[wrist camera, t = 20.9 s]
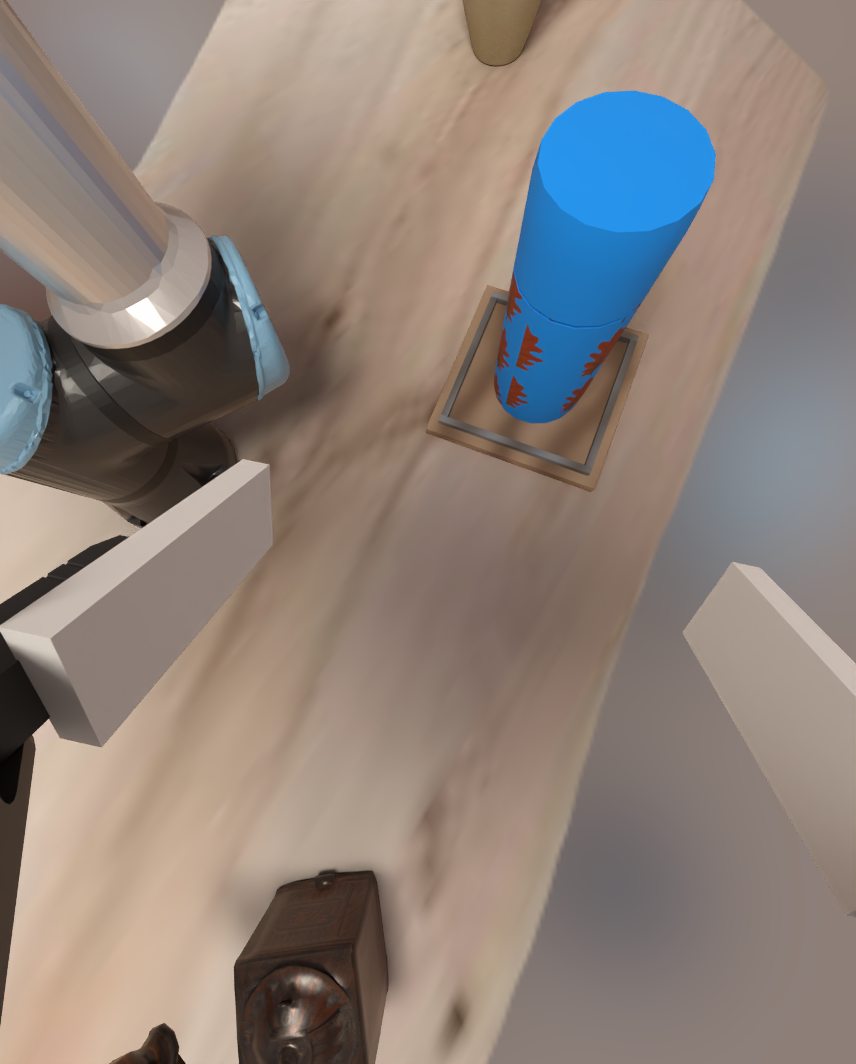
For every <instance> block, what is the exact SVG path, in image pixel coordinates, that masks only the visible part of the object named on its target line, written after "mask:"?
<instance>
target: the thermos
mask: <svg viewBox="0 0 856 1064" xmlns="http://www.w3.org/2000/svg"><path fill="white" fill-rule="evenodd" d="M715 156H716V154H715V151H714V149H713V146H712V143H711V141H710V138H709V135H708V133H707V130H706V129H705V128H704V127H703V126H702V125H701V124H700V123H699V122H698V120H697V119H696V118H695V117H694V116H693V115H692V114H691V113H690V112H689V111H688V110H686V109H685V108H683V107H681V106H679V105H677V104H675V103H673V102H672V101H670V100H668V99H666V98H664V97H662V96H657V95H652V94H647V93H642V92H638V91H621V92H605V93H601V94H598V95H596V96H593V97H590V98H587V99H584V100H582V101H579V102H576V103H575V104H574V105H572V106H571V107H570V108H568V109H567V110H566V111H564V112H563V113H562V114H560V115H559V116H558V117H557V118H555V120H554V121H553V123H552V124H551V126H550V127H549V129H548V131H547V132H546V134H545V135H544V137H543V138H542V140H541V143H540V147H539V150H538V153H537V156H536V160H535V163H534V166H533V169H532V175H531V180H530V185H529V190H528V196H527V201H526V206H525V212H524V217H523V222H522V227H521V233H520V238H519V243H518V249H517V254H516V259H515V264H514V270H513V275H512V280H511V285H510V291H509V296H508V301H507V307H506V312H505V317H504V322H503V328H502V333H501V338H500V344H499V349H498V354H497V360H496V366H495V377H494V388H495V393H496V397H497V399H498V401H499V402H500V404H501V405H502V407H503V408H504V410H505V411H506V412H508V413H509V414H511V415H512V416H513V417H515V418H516V419H518V420H522V421H525V422H528V423H548V422H551V421H554V420H557V419H559V418H561V417H563V416H564V415H565V414H566V413H567V412H569V411H570V410H571V409H572V408H573V407H574V405H575V404H576V403H577V402H578V400H579V399H580V398H581V396H582V395H583V394H584V392H585V391H586V389H587V388H588V386H589V385H590V383H591V381H592V380H593V378H594V377H595V375H596V374H597V372H598V370H599V369H600V367H601V366H602V364H603V363H604V361H605V359H606V358H607V356H608V355H609V353H610V352H611V350H612V348H613V347H614V345H615V344H616V342H617V341H618V339H619V337H620V336H621V334H622V333H623V331H624V329H625V328H626V326H627V325H628V323H629V322H630V320H631V318H632V317H633V315H634V314H635V312H636V311H637V309H638V307H639V306H640V304H641V303H642V301H643V300H644V298H645V296H646V295H647V293H648V292H649V290H650V289H651V287H652V285H653V284H654V282H655V281H656V279H657V278H658V276H659V274H660V273H661V271H662V270H663V268H664V267H665V265H666V263H667V262H668V260H669V259H670V257H671V256H672V254H673V252H674V251H675V249H676V248H677V246H678V245H679V243H680V241H681V240H682V238H683V237H684V235H685V234H686V232H687V230H688V228H689V227H690V225H691V223H692V221H693V219H694V218H695V216H696V214H697V212H698V210H699V209H700V206H701V204H702V202H703V200H704V198H705V196H706V194H707V192H708V190H709V188H710V186H711V184H712V182H713V180H714V169H715Z"/></svg>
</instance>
